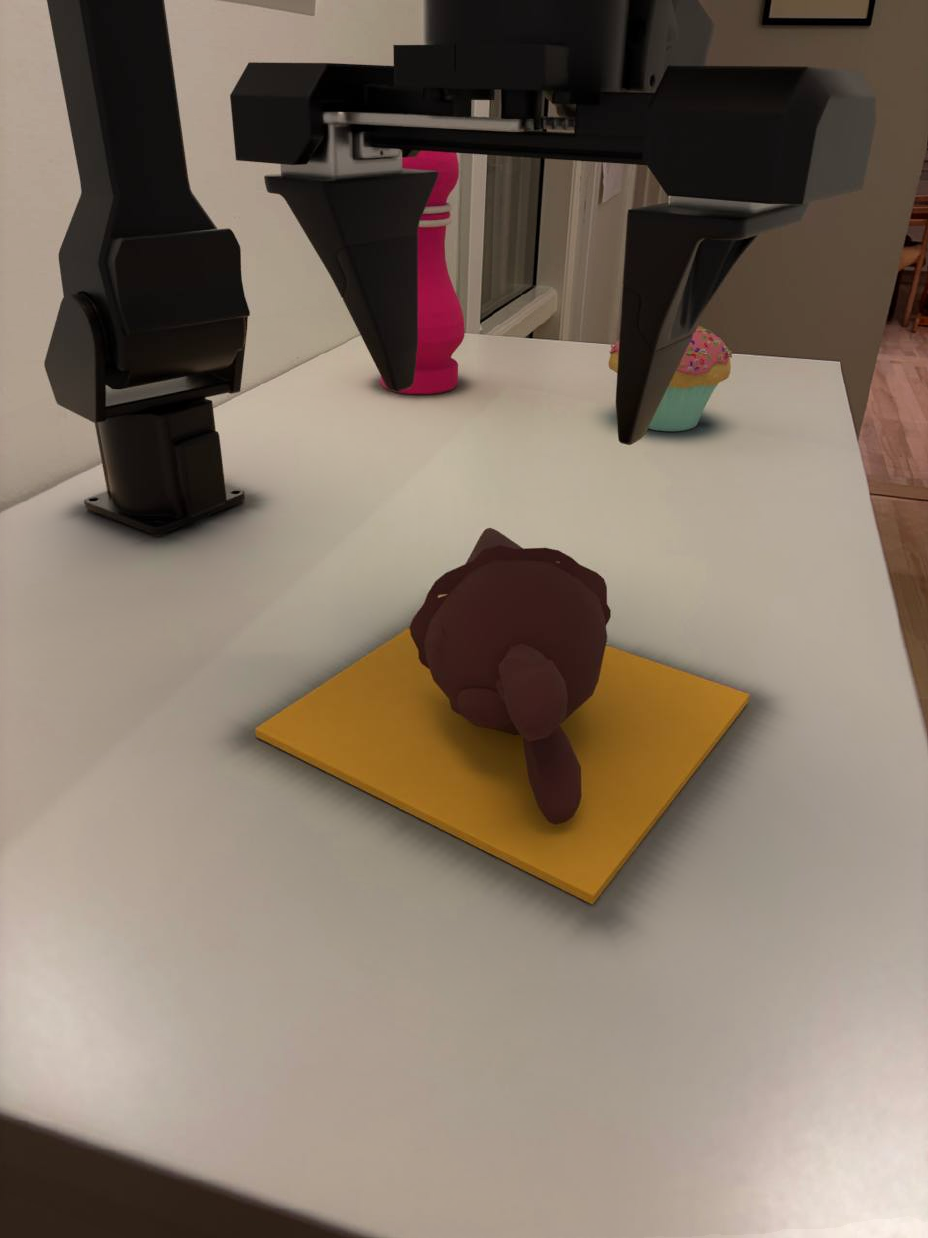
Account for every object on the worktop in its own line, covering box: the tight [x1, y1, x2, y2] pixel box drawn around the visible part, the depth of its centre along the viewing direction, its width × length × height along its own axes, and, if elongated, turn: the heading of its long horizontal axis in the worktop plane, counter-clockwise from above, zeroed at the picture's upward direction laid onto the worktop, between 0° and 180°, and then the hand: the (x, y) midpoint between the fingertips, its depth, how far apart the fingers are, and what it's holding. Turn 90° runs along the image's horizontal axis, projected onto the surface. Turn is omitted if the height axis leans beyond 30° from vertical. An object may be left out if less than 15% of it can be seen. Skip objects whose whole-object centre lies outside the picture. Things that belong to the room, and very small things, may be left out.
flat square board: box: [254, 626, 750, 905], centre depth 36 cm, size 14×13×1 cm
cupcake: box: [608, 325, 733, 432], centre depth 65 cm, size 9×8×12 cm
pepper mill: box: [380, 151, 466, 395], centre depth 71 cm, size 7×7×20 cm
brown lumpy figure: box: [409, 527, 612, 825], centre depth 34 cm, size 7×7×15 cm
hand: (507, 413), depth 32 cm, fingers open, 9 cm apart
